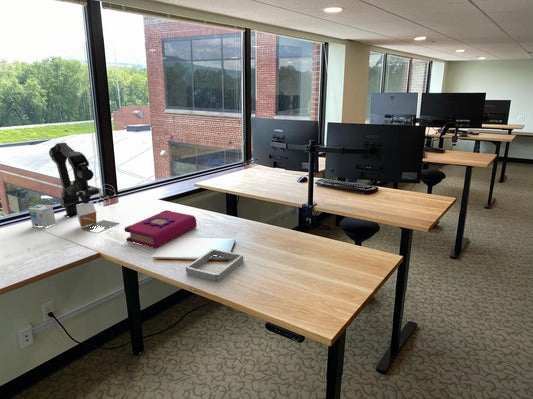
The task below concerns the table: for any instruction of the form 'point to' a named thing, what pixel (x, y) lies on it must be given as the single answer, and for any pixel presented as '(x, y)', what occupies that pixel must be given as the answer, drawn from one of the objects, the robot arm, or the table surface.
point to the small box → (86, 214)
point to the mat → (100, 223)
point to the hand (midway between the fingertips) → (86, 205)
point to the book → (160, 228)
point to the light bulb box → (42, 215)
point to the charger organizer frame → (238, 260)
